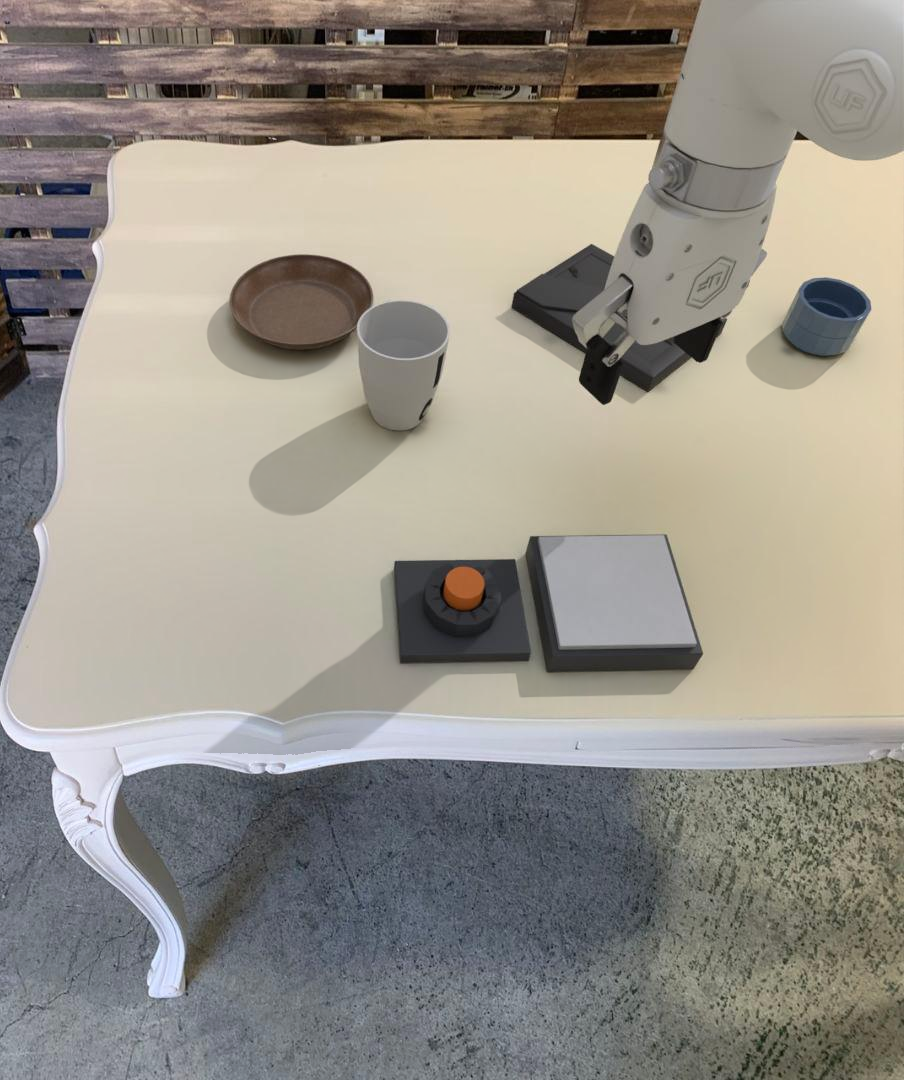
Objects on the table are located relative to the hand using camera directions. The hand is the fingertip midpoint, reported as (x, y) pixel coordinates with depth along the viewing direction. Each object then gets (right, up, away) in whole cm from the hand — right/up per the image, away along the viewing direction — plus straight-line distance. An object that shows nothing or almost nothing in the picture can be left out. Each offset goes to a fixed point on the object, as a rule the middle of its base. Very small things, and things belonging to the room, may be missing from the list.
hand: (642, 371), depth 70 cm
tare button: (-14, -17, 0) cm, 22 cm away
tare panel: (-14, -19, +2) cm, 24 cm away
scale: (-2, -19, +3) cm, 19 cm away
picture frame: (+5, +10, +26) cm, 28 cm away
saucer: (-28, +10, +25) cm, 39 cm away
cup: (-18, -1, +16) cm, 25 cm away
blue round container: (+26, +8, +24) cm, 36 cm away
